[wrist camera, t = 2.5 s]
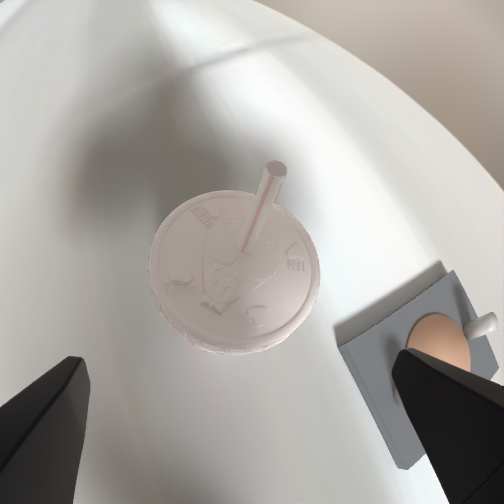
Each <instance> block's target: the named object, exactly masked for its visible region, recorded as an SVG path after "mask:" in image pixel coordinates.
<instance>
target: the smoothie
mask: <svg viewBox="0 0 504 504" xmlns="http://www.w3.org/2000/svg"><path fill="white" fill-rule="evenodd" d="M286 174H287V168H286V166H285V165H284V164H283V163H281V162H279V161H270V162H268V163H267V164H266V167H265V170H264V172H263V175H262V178H261V181H260V183H259V186H258V189H257V192H256V194H253V193H249V192H244V191H236V190H221V191H213V192H208V193H204V194H201V195H198V196H196V197H193V198H191V199H189V200H187V201H185V202H184V203H182V204H181V205H179V206H178V207H177V208H175V209H174V210H173V211H172V212H171V213H170V214H169V215H168V216H167V217H166V218H165V220H164V221H163V222H162V224H161V225H160V227H159V228H158V230H157V232H156V234H155V236H154V239H153V242H152V245H151V249H150V255H149V277H150V287H151V293H152V295H153V298H154V300H155V303H156V305H157V307H158V310H159V312H160V313H161V315H162V316H163V317H164V318H165V320H166V321H167V322H168V324H169V325H170V326H171V327H172V329H173V330H174V331H175V332H177V333H178V334H180V335H181V336H182V337H184V338H185V339H186V340H188V341H189V342H191V343H192V344H193V345H195V346H196V347H198V348H199V349H201V350H204V351H207V352H214V353H219V354H231V355H245V354H250V353H256V352H261V351H264V350H266V349H268V348H270V347H272V346H274V345H276V344H278V343H280V342H282V341H284V340H285V339H286V338H287V337H288V336H289V335H290V334H291V333H292V332H293V331H294V330H295V329H296V328H298V327H299V326H300V325H301V323H302V322H303V321H304V320H305V319H306V317H307V316H308V315H309V313H310V311H311V309H312V308H313V305H314V303H315V301H316V298H317V295H318V290H319V285H320V266H319V260H318V255H317V252H316V249H315V247H314V244H313V242H312V240H311V238H310V236H309V235H308V233H307V231H306V230H305V229H304V227H303V226H302V225H301V223H300V222H299V221H298V220H297V219H296V218H295V217H294V216H293V215H292V214H291V213H290V212H288V211H287V210H286V209H285V208H283V207H282V206H280V205H279V204H277V203H275V202H274V201H275V199H276V196H277V194H278V192H279V190H280V187H281V185H282V183H283V181H284V179H285V176H286Z"/></svg>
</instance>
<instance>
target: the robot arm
mask: <svg viewBox="0 0 504 504" xmlns="http://www.w3.org/2000/svg"><path fill="white" fill-rule="evenodd" d="M391 376H392V379H393V381H394V384H395V386H396V389H397V391H398V394H399V396H400V399H401V401H402V404H403V406H404V409H405V411H406V414H407V416H408V418H409V420H410V422H411V424H412V426H413V428H414V430H415V432H416V434H417V436H418V438H419V440H420V442H421V444H422V446H423V448H424V450H425V452H426V454H427V456H428V458H429V460H430V462H431V465H432V467H433V469H434V471H435V473H436V475H437V477H438V479H439V482H440V484H441V486H442V488H443V490H444V493H445V495H446V497H447V499H448V502H449V504H504V386H501V385H500V384H497V383H495V382H492V381H490V380H487V379H485V378H483V377H480V376H478V375H475V374H473V373H471V372H468V371H466V370H464V369H461V368H459V367H456V366H454V365H452V364H449V363H447V362H445V361H442V360H440V359H438V358H435V357H433V356H431V355H428V354H426V353H424V352H421V351H419V350H417V349H415V348H404V349H401V350H400V351H399V353H398V355H397V357H396V360H395V362H394V365H393V367H392V370H391ZM89 395H90V380H89V376H88V372H87V368H86V363H85V361H84V359H83V358H82V357H75V356H68V357H67V358H65V359H64V360H63V361H61V362H60V363H58V364H57V365H56V366H54V367H53V368H52V369H50V370H49V371H48V372H46V373H45V374H44V375H42V376H41V377H40V378H38V379H37V380H36V381H34V382H33V383H32V384H30V385H29V386H28V387H26V388H25V389H24V390H22V391H21V392H20V393H18V394H17V395H16V396H14V397H13V398H12V399H10V400H9V401H8V402H6V403H5V404H4V405H2V406H1V407H0V504H73V499H74V492H75V486H76V480H77V474H78V469H79V463H80V458H81V453H82V448H83V444H84V438H85V430H86V420H87V411H88V403H89Z"/></svg>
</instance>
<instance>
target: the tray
mask: <svg viewBox="0 0 504 504" xmlns="http://www.w3.org/2000/svg"><path fill="white" fill-rule="evenodd" d="M497 328H498V320H497V317H496V315H495V314H494V313H493V312H490V313H488V314H486V315H484V316H482V317H479V318H478V317H477V315H476V313H475V310H474V308H473V306H472V304H471V302H470V300H469V298H468V296H467V294H466V292H465V290H464V288H463V287H462V285H461V283H460V281H459V279H458V277H457V275H456V273H455V272H454V270H452V271H451V272H449V273H448V274H446V275H445V276H443V277H442V278H441V279H439V280H438V281H437V282H435V283H434V284H433V285H431V286H430V287H429V288H427V289H426V290H425V291H423V292H422V293H420V294H419V295H418V296H416V297H415V298H413V299H412V300H411V301H409V302H408V303H406V304H405V305H403V306H402V307H401V308H399V309H398V310H396V311H395V312H393V313H392V314H390V315H389V316H387V317H386V318H384V319H383V320H381V321H380V322H378V323H377V324H375V325H373V326H372V327H370V328H369V329H367V330H366V331H364V332H362V333H361V334H359V335H358V336H356V337H354V338H353V339H351V340H349V341H348V342H346V343H344V344H343V345H341V346H339V347H338V349H339V351H340V353H341V355H342V357H343V358H344V360H345V362H346V364H347V366H348V368H349V370H350V372H351V374H352V376H353V378H354V380H355V382H356V384H357V386H358V388H359V390H360V392H361V394H362V396H363V398H364V400H365V402H366V404H367V406H368V408H369V410H370V412H371V414H372V416H373V418H374V420H375V422H376V424H377V426H378V428H379V430H380V432H381V434H382V436H383V438H384V440H385V442H386V444H387V446H388V448H389V450H390V453H391V455H392V457H393V459H394V461H395V463H396V465H397V467H398V468H400V469H405V470H408V469H409V468H410V467H411V466H413V465H414V464H415V463H416V462H417V461H418V460H419V459H420V458H421V457H422V456H423V455H424V454H425V453H426V452H425V450H424V448H423V446H422V444H421V442H420V440H419V438H418V436H417V434H416V432H415V430H414V428H413V426H412V424H411V422H410V420H409V418H408V416H407V414H406V411H405V409H404V406H403V404H402V401H401V399H400V396H399V394H398V391H397V389H396V386H395V384H394V381H393V379H392V376H391V370H392V367H393V365H394V362H395V360H396V357H397V355H398V353H399V351H400V350H401V349H404V348H415V349H417V350H419V351H421V352H424V353H426V354H428V355H431V356H433V357H435V358H438V359H440V360H442V361H445V362H447V363H449V364H452V365H454V366H456V367H459V368H461V369H464V370H466V371H468V372H471V373H473V374H475V375H478V376H480V377H483V378H485V379H487V380H491V378H492V377H493V375H494V374H495V373H496V371H497V370H498V368H499V366H498V364H497V361H496V359H495V356H494V354H493V351H492V349H491V346H490V344H489V341H488V339H487V337H486V334H488V333H491V332H493V331H495V330H497Z"/></svg>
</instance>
